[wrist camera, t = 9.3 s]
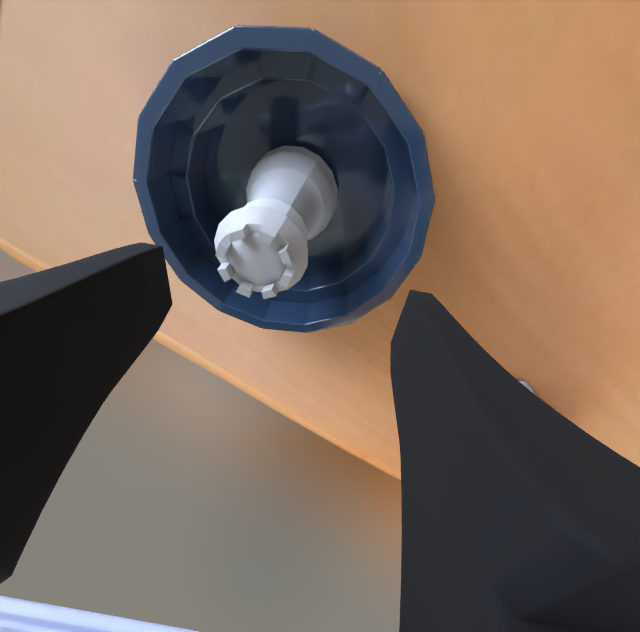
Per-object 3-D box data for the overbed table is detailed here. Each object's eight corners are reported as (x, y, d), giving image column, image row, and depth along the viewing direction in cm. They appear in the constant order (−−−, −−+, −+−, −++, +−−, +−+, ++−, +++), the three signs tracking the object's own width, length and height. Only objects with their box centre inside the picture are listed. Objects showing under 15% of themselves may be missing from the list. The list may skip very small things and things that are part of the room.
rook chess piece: (282, 121, 15) (222, 160, 9) (356, 184, 16) (352, 258, 10) (237, 198, 17) (164, 274, 11) (305, 248, 19) (275, 341, 12)
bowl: (464, 199, 17) (491, 235, 13) (298, 317, 23) (286, 364, 19) (296, -53, 12) (268, -103, 9) (140, 177, 18) (85, 204, 14)
